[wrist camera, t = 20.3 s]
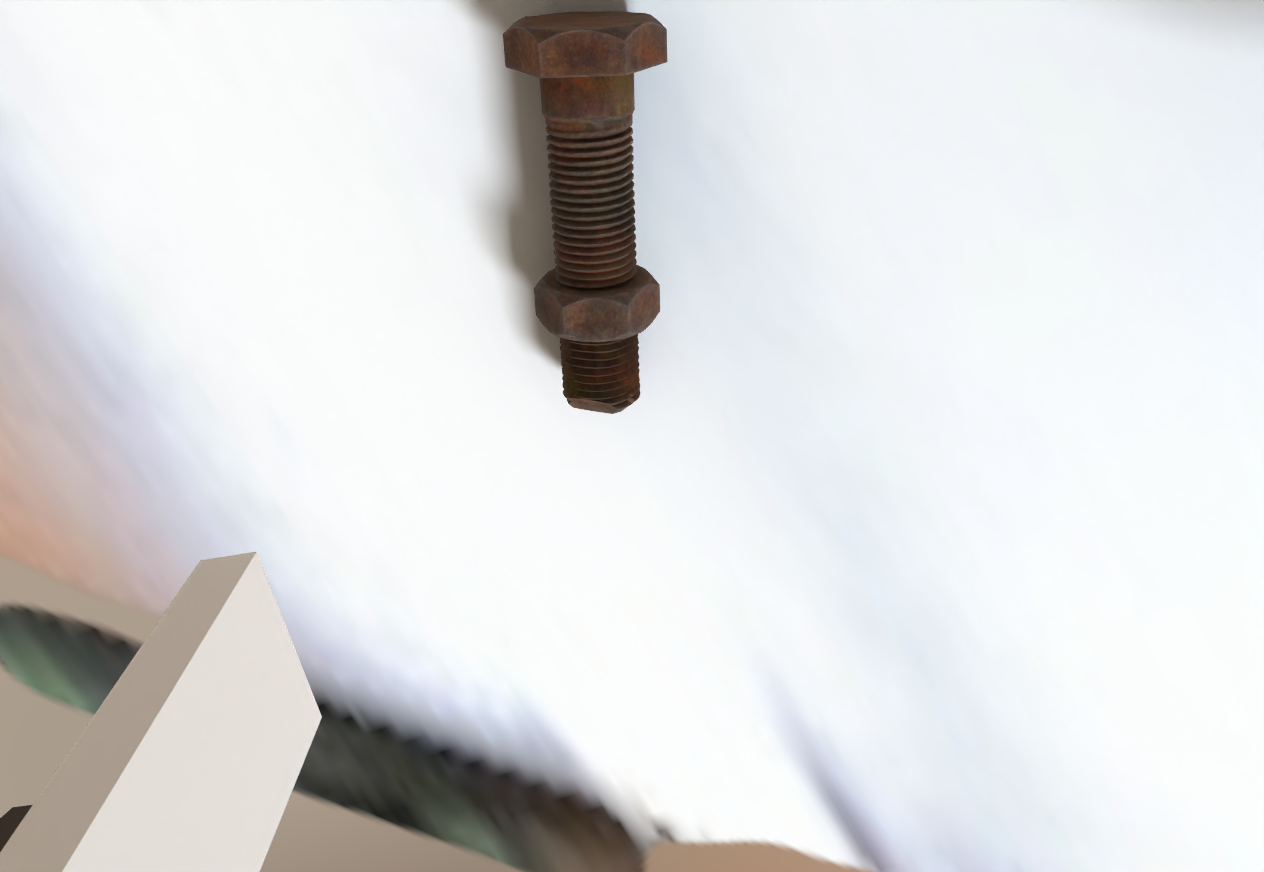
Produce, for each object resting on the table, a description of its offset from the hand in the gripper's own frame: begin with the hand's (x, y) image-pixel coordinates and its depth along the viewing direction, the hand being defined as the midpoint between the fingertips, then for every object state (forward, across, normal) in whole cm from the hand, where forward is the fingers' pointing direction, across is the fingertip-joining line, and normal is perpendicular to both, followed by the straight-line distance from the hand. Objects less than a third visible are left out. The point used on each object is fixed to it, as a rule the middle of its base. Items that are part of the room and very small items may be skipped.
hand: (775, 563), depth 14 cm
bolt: (+32, -4, -3) cm, 32 cm away
